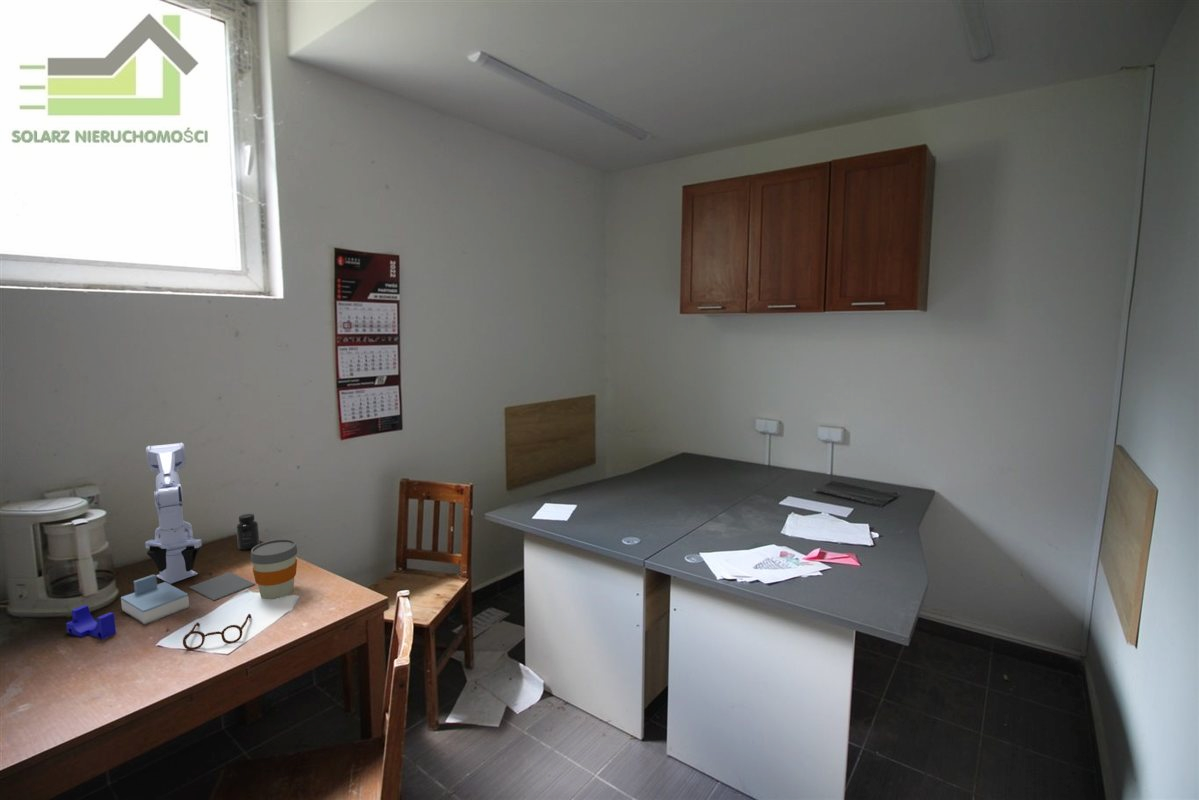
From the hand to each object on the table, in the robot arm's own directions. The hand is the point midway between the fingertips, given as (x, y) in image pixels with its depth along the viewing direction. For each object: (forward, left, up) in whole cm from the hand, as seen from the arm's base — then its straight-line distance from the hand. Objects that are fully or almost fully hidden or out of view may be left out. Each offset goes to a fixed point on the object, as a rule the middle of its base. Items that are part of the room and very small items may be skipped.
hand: (176, 570), depth 165 cm
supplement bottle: (-23, +33, -10) cm, 41 cm away
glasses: (+27, -2, -11) cm, 30 cm away
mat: (+1, +12, -10) cm, 15 cm away
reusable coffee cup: (+19, +19, -10) cm, 28 cm away
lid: (-1, -5, -7) cm, 9 cm away
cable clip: (-1, -20, -11) cm, 23 cm away
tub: (-1, -5, -10) cm, 12 cm away
